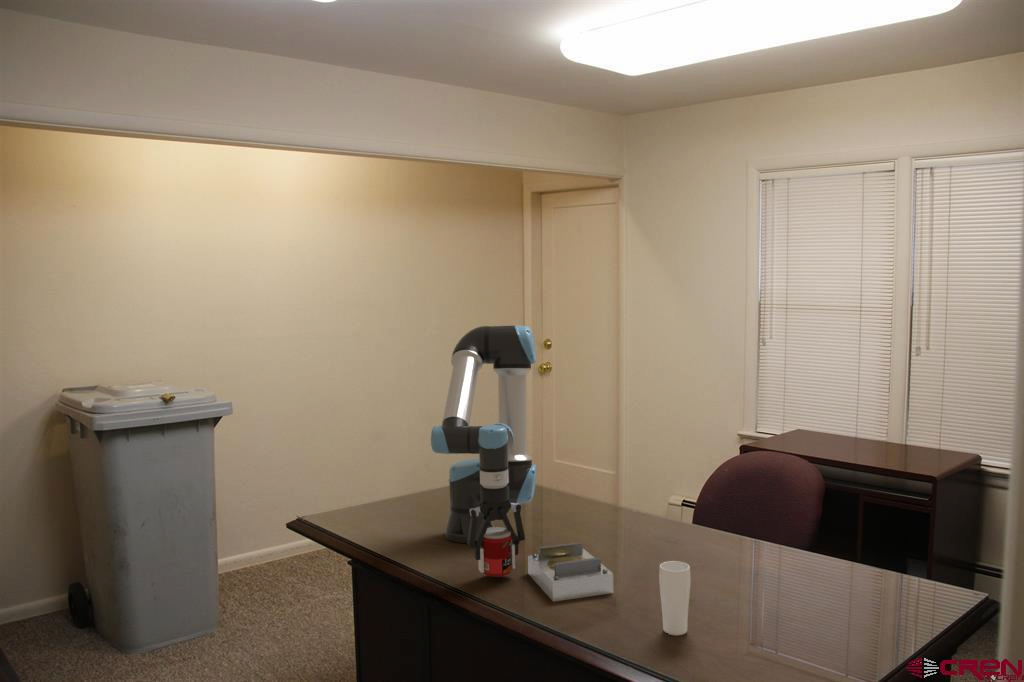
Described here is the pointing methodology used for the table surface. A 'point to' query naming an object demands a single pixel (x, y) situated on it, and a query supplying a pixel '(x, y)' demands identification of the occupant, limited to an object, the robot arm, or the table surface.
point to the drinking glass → (674, 596)
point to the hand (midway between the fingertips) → (496, 568)
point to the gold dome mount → (569, 572)
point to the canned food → (497, 552)
